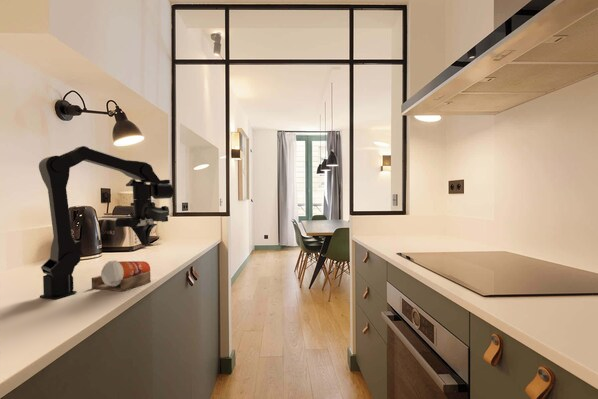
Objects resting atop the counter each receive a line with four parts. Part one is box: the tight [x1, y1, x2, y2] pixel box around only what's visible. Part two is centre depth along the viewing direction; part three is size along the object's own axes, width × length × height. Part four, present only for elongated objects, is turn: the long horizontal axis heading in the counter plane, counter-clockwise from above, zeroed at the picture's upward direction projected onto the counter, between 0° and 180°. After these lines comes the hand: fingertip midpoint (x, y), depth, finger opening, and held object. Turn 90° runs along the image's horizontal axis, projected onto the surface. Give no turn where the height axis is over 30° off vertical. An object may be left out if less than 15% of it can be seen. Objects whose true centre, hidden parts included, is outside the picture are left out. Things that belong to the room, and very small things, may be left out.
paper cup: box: [100, 260, 151, 286], centre depth 111 cm, size 8×8×14 cm
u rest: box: [91, 271, 151, 292], centre depth 110 cm, size 11×12×3 cm
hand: (144, 245), depth 120 cm, fingers closed
